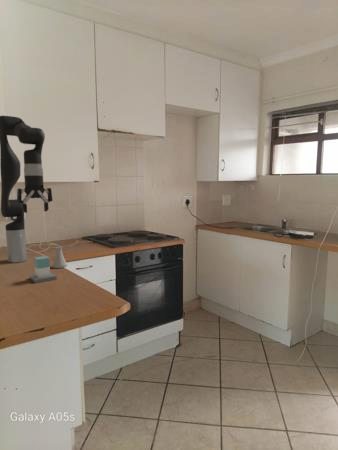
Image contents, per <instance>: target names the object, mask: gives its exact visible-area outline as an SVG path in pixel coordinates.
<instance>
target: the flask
mask: <svg viewBox="0 0 338 450" xmlns="http://www.w3.org/2000/svg"><path fill="white" fill-rule="evenodd" d="M55 250H56V252H55V257H54V261H53V263H52V268H53V269H61V268H67V267H68V263H67V261H66V259H65V257H64V255H63V246H57V247H55Z"/></svg>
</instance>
